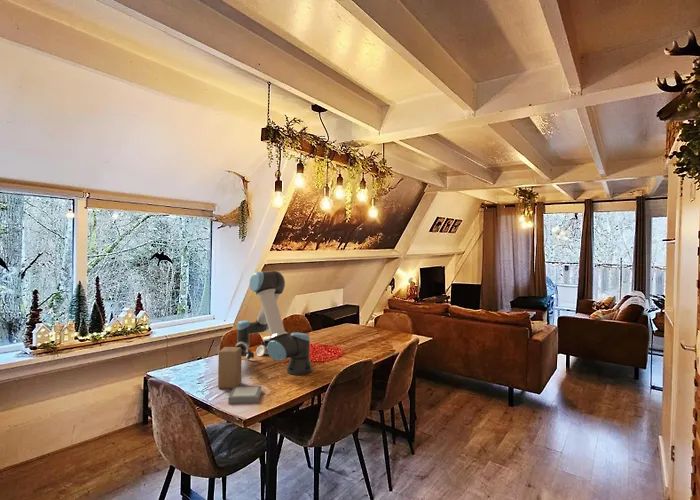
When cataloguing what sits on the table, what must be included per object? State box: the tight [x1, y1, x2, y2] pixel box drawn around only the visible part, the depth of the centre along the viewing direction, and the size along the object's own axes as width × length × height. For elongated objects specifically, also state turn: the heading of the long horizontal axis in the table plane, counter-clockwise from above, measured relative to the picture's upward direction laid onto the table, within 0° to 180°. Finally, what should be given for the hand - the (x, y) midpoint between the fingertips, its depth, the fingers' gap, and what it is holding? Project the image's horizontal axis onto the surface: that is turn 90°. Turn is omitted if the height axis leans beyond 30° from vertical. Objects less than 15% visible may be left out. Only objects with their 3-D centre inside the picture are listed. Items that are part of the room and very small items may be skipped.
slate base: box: [227, 385, 263, 405], centre depth 191 cm, size 14×14×3 cm
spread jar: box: [255, 335, 271, 357], centre depth 264 cm, size 12×11×12 cm
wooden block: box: [217, 346, 242, 389], centre depth 206 cm, size 10×10×20 cm
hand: (233, 359), depth 216 cm, fingers open, 13 cm apart
